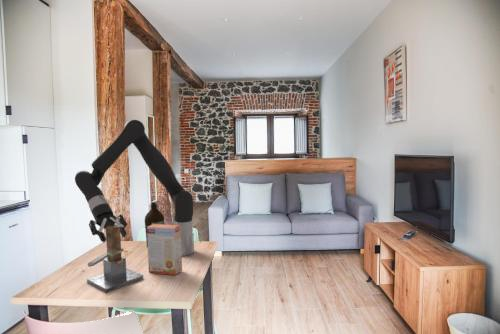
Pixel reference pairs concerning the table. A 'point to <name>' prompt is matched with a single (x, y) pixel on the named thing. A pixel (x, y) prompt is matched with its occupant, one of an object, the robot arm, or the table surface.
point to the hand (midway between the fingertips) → (115, 238)
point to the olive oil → (153, 217)
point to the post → (113, 242)
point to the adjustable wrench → (99, 259)
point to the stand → (114, 276)
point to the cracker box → (164, 249)
